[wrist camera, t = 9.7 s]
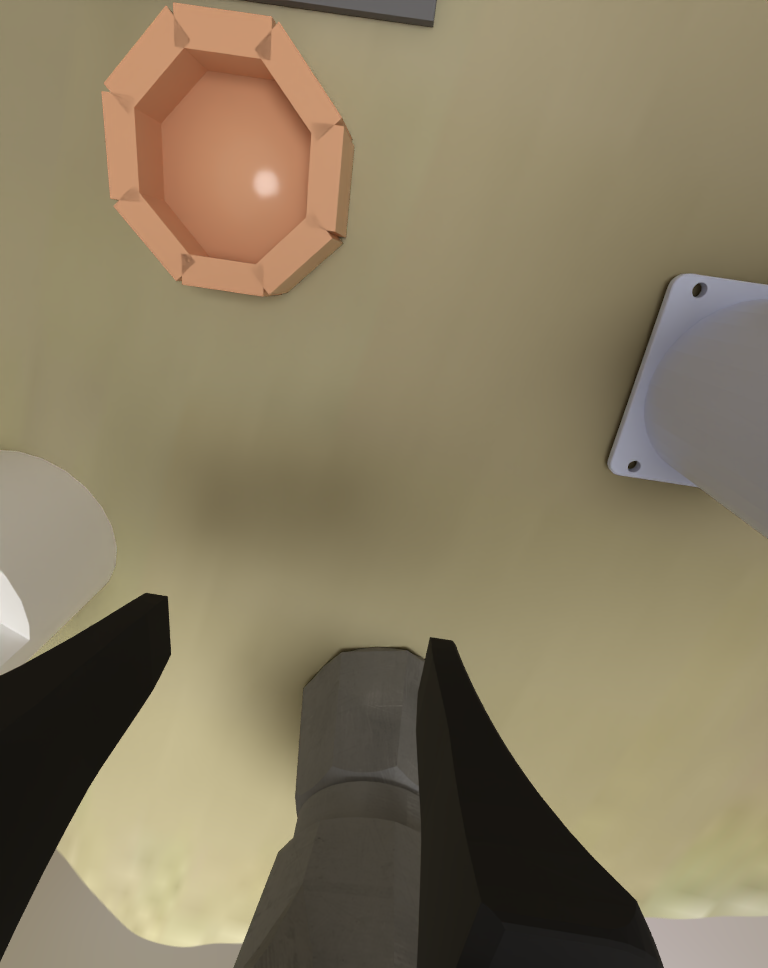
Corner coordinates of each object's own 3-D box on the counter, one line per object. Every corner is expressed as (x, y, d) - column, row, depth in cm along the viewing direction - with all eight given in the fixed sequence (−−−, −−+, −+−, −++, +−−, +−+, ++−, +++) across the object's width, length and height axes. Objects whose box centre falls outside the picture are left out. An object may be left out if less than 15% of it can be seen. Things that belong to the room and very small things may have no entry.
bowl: (361, 64, 16) (352, 27, 14) (339, 303, 19) (329, 306, 17) (139, 32, 16) (93, -10, 14) (153, 275, 19) (116, 274, 17)
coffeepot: (252, 649, 27) (-22, 1256, 10) (403, 590, 24) (368, 1246, 8) (381, 817, 32) (339, 1408, 15) (517, 780, 29) (643, 1429, 13)
